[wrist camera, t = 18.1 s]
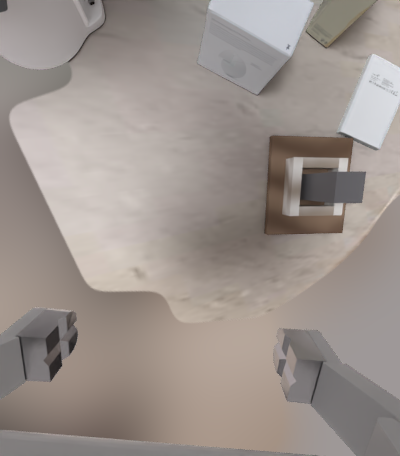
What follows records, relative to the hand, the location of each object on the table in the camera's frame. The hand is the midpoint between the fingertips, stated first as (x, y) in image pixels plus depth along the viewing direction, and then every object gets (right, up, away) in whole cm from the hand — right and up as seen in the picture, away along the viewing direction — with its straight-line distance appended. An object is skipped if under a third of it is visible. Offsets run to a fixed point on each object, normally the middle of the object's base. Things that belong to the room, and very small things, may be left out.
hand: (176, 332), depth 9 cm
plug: (+19, +11, +29) cm, 37 cm away
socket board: (+19, +11, +30) cm, 37 cm away
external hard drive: (+30, +25, +30) cm, 49 cm away
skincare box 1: (+6, +30, +25) cm, 40 cm away
